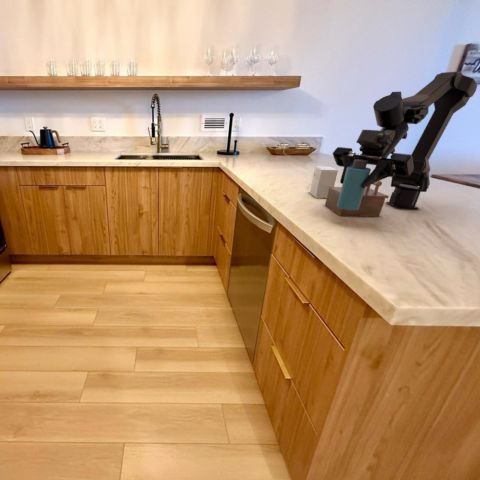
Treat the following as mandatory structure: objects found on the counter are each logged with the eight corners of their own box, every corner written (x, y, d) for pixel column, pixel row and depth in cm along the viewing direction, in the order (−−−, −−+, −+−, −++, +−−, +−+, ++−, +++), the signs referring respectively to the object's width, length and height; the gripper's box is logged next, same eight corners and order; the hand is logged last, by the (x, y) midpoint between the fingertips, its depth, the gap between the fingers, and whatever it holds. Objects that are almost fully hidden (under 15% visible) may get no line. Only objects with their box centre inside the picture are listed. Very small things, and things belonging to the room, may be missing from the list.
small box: (331, 198, 106) (338, 170, 101) (314, 198, 107) (321, 169, 103) (324, 193, 113) (331, 166, 109) (309, 192, 114) (315, 165, 110)
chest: (359, 206, 98) (364, 189, 96) (379, 216, 88) (385, 198, 86) (324, 205, 99) (328, 188, 96) (340, 215, 89) (345, 197, 87)
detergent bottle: (351, 204, 83) (364, 158, 78) (363, 210, 79) (378, 162, 73) (332, 204, 84) (344, 158, 78) (343, 210, 79) (357, 162, 73)
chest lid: (367, 189, 95) (371, 175, 94) (388, 198, 86) (393, 183, 84) (329, 188, 96) (332, 175, 94) (345, 197, 87) (349, 182, 85)
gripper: (345, 116, 80) (311, 160, 80) (426, 118, 66) (384, 171, 65) (353, 144, 87) (322, 184, 87) (428, 151, 72) (391, 200, 72)
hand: (351, 184), depth 78 cm, fingers closed on detergent bottle, 5 cm apart
